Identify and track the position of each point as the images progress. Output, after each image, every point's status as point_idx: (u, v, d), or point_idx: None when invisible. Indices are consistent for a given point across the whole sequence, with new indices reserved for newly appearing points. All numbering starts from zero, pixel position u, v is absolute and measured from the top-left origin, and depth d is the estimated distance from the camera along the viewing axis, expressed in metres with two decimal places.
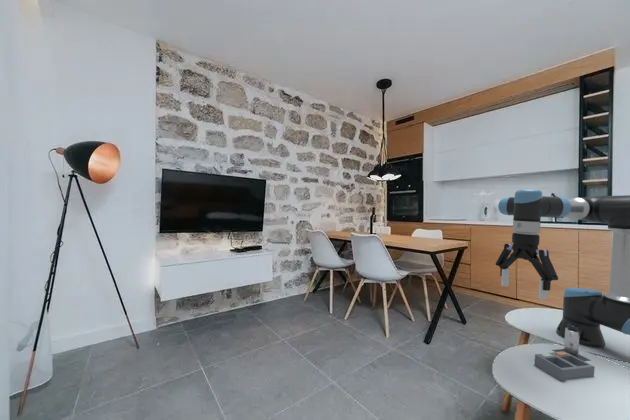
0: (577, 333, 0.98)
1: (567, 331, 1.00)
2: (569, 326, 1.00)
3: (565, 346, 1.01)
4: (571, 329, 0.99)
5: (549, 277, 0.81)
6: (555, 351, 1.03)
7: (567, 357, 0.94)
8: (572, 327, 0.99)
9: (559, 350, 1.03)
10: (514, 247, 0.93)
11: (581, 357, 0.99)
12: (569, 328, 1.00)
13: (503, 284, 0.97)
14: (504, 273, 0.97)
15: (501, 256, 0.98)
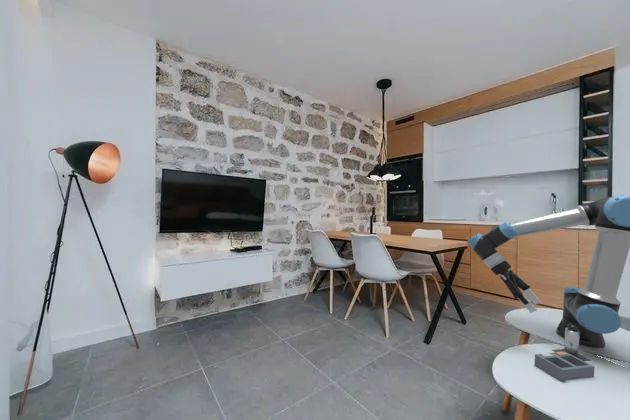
0: (577, 333, 0.98)
1: (567, 331, 1.00)
2: (569, 326, 1.00)
3: (565, 346, 1.01)
4: (571, 329, 0.99)
5: None
6: (555, 351, 1.03)
7: (567, 357, 0.94)
8: (572, 327, 0.99)
9: (559, 350, 1.03)
10: None
11: (581, 357, 0.99)
12: (569, 328, 1.00)
13: (534, 303, 1.13)
14: (526, 294, 1.15)
15: None
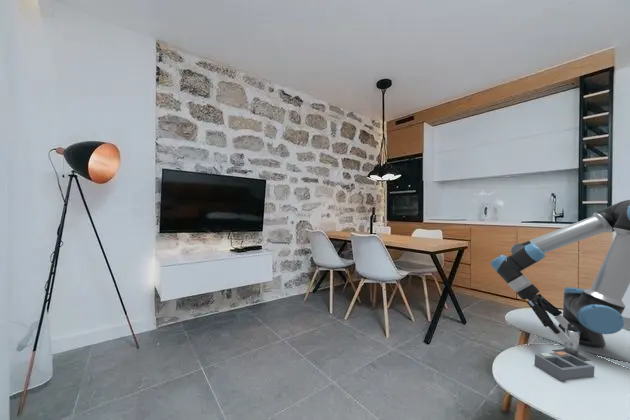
0: (577, 333, 0.98)
1: (567, 331, 1.00)
2: (569, 326, 1.00)
3: (565, 346, 1.01)
4: (571, 329, 0.99)
5: None
6: (555, 351, 1.03)
7: (567, 357, 0.94)
8: (572, 327, 0.99)
9: (559, 350, 1.03)
10: None
11: (581, 357, 0.99)
12: (569, 328, 1.00)
13: None
14: (558, 320, 1.08)
15: None
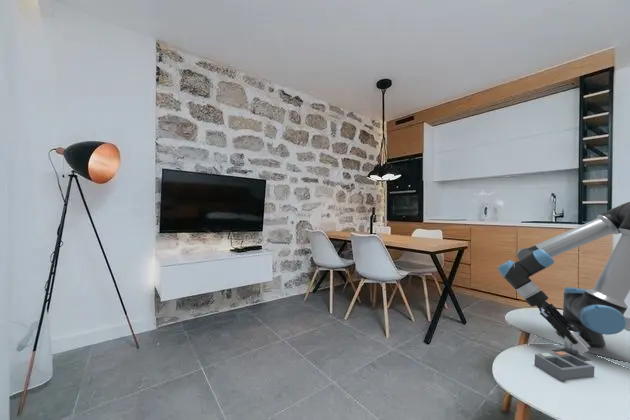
0: (577, 333, 0.98)
1: None
2: (569, 326, 1.00)
3: (565, 346, 1.01)
4: (571, 329, 0.99)
5: None
6: (555, 351, 1.03)
7: (567, 357, 0.94)
8: (572, 327, 0.99)
9: (559, 350, 1.03)
10: None
11: (581, 357, 0.99)
12: (569, 328, 1.00)
13: None
14: None
15: None
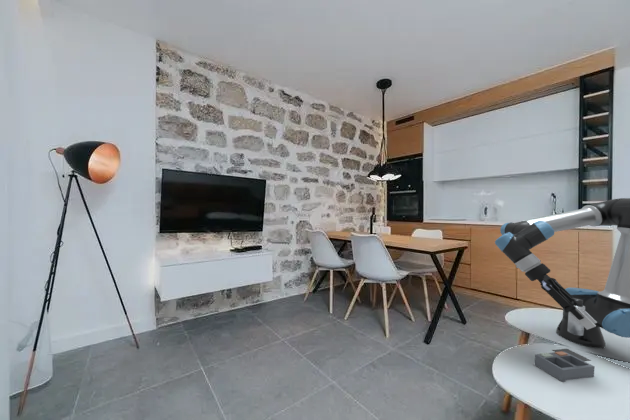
0: (582, 308, 0.88)
1: None
2: (573, 301, 0.90)
3: (569, 323, 0.91)
4: (576, 304, 0.89)
5: None
6: (555, 351, 1.03)
7: (567, 357, 0.94)
8: (577, 301, 0.89)
9: (559, 350, 1.03)
10: None
11: (581, 357, 0.99)
12: (573, 303, 0.90)
13: None
14: None
15: None
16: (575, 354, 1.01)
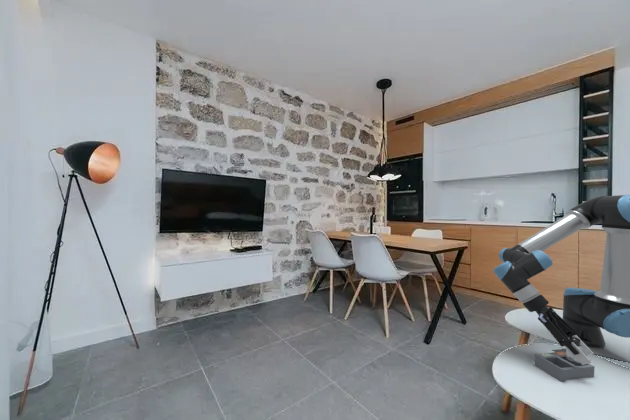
0: (580, 348, 0.89)
1: None
2: (571, 340, 0.90)
3: None
4: None
5: None
6: (555, 351, 1.03)
7: None
8: (574, 341, 0.90)
9: (559, 350, 1.03)
10: None
11: None
12: None
13: (584, 354, 0.91)
14: None
15: None
16: None
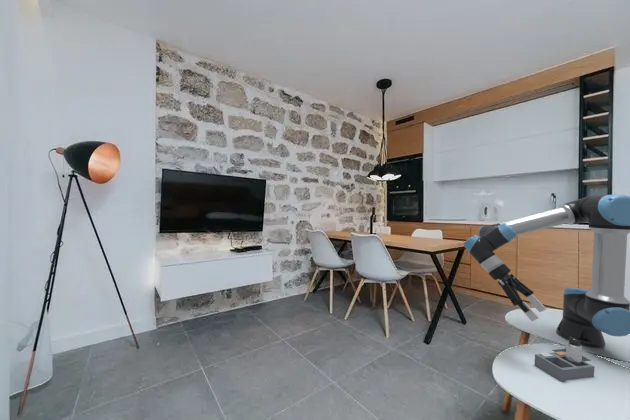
0: (580, 348, 0.89)
1: (568, 345, 0.91)
2: (571, 340, 0.90)
3: None
4: (573, 343, 0.90)
5: None
6: (555, 351, 1.03)
7: None
8: (574, 341, 0.90)
9: (559, 350, 1.03)
10: None
11: None
12: (571, 342, 0.90)
13: (539, 310, 1.03)
14: (530, 300, 1.05)
15: None
16: None
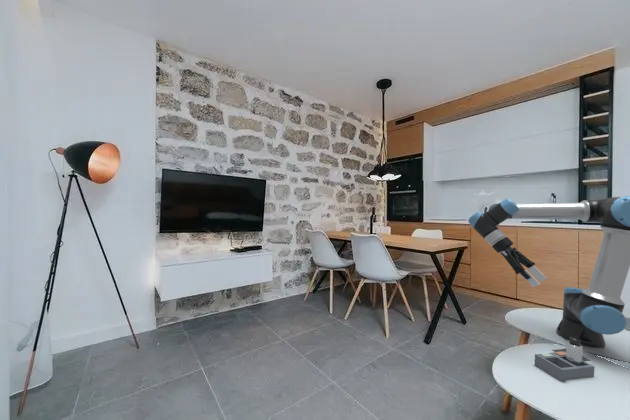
0: (580, 348, 0.89)
1: (569, 345, 0.90)
2: (571, 340, 0.90)
3: None
4: (573, 343, 0.90)
5: None
6: (555, 351, 1.03)
7: None
8: (574, 341, 0.90)
9: (559, 350, 1.03)
10: None
11: None
12: (571, 342, 0.90)
13: (540, 280, 1.09)
14: (531, 271, 1.11)
15: None
16: None
